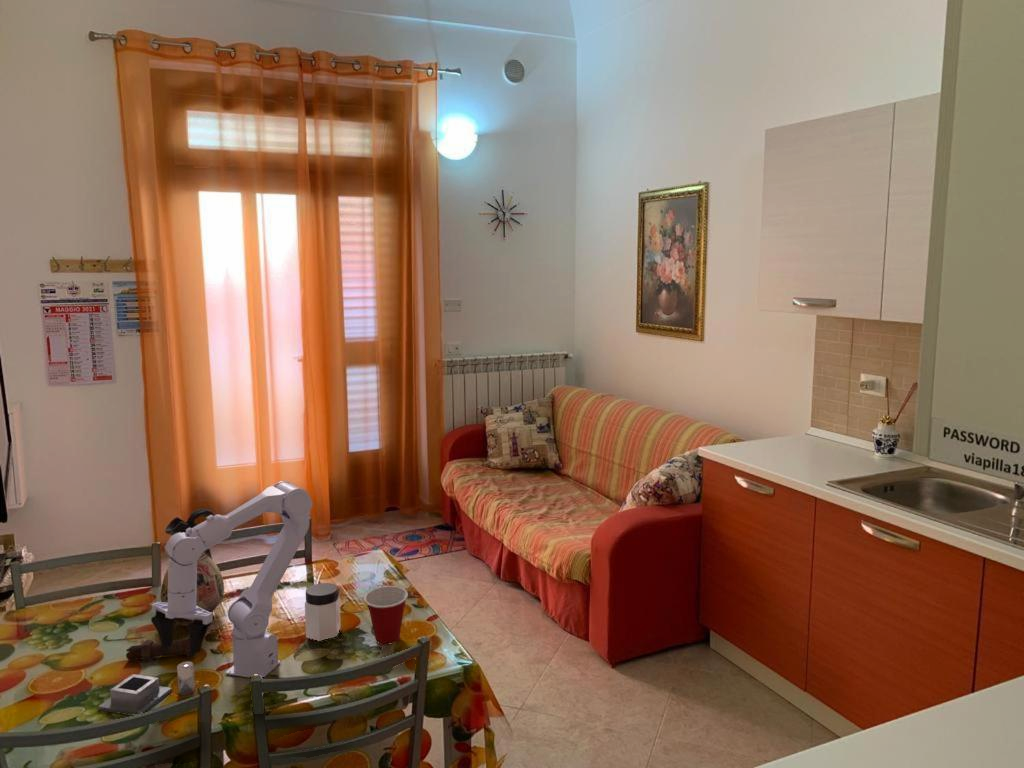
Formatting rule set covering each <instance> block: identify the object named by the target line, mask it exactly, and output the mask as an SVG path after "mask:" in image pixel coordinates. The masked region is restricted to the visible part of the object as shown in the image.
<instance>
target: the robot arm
mask: <svg viewBox="0 0 1024 768" xmlns="http://www.w3.org/2000/svg"><path fill="white" fill-rule="evenodd" d="M313 505H314V504H313V502H312V498H311V497H310V494H309V493H308V491H307V490H305V489H304V488H301V487H298V486H297V485H294V484H292V483H291V482H289V481H286V480H281V481H278V482H276V483H275V484H274V485H271V486H268V487H267V488H264V490H263V491H262V492H261V493H260V494H258V495H256V496H255V497H252V498H251V499H250V500H248V501H246V502H245V503H242V505H240V506H239V507H237V508H235V509H233V510H232V511H231V512H229V513H227V514H225V515H222V514H214V516H213V515H210V516H208V517H205V519H206V520H204V521H203V522H202V521H201V522H200V523H198V525H197V526H195V527H193V528H190V527H189V528H188V529H186V533H184V532H182V533H181V532H180V533H176V534H174V535H172V536H171V535H170V537H169V539H168V540H167V541H166V545H165V546H164V551H165V553H166V555H167V556H169V557H168V567H169V569H168V568H167V569H168V603H165V602H162V601H157V602H154V603H152V604H151V614H154V616H152V617H151V619H150V621H151V623H152V624H153V626H154V627H155V629H156V631H157V633H158V636H159V641H160V643H161V644H162V647H163V648H166V647H168V646H170V645H172V641H174V639H173V637H174V627H175V626H174V625H175V618H185V619H190V620H194V623H191V624H189V625H187V626H186V630H187V632H188V634H189V636H190V651H191V654H192V655H195V654H196V655H197V654H198V653H200V652H201V649H202V645H203V642H204V639H205V636H206V634H207V632H208V630H209V628H210V627H211V625H212V623H213V622H214V621H213V617H214V616H213V615H214V612H213V613H211V612H208V611H206V610H204V609H202V608H200V607H198V606H196V594H197V560H198V559H199V557H200V556H201V554H202V552H204V551H205V550H207V549H211V548H212V547H214V546H216V545H217V544H219V543H221V542H223V541H225V540H226V539H228V538H230V537H231V535H232V532H233V530H234V529H235V528H237V527H239V526H241V525H243V524H245V523H247V522H248V521H251V520H253V519H255V518H257V517H258V516H260V515H263V514H265V513H273V514H279V515H280V517H281V521H282V523H283V526H282V529H281V531H280V532H279V534H278V536H277V538H276V540H275V541H274V543H273V545H272V546H271V548H270V551H269V552H268V554H267V556H266V558H265V560H264V561H263V562H262V565H261V566H260V568H259V571H258V573H257V574H256V576H255V578H254V579H253V582H252V584H251V586H250V587H248V588H246V589H245V590H243V591H241V593H240V595H239V597H238V598H237V599H235V601H233V602H232V603H231V604H230V606H229V608H228V609H227V617H228V620H229V622H230V623H232V624H233V627H232V631H231V635H232V637H231V638H232V639H231V640H232V657H233V665H232V666H231V667H230V668H229V669H228V670H226V671H225V674H226V675H230V676H238V677H244V678H250V676H252V675H254V674H258V675H261V676H262V677H264V678H265V677H266V676H267V675H268V674H269V673H271V672H272V671H273V670H274V669H275V668H276V667H278V665H280V664H281V660H279V651H278V650H279V646H278V638H277V636H276V635H275V634H274V633H271V632H269V631H267V628H268V626H269V621H270V620H269V619H270V616H271V613H272V611H273V600H272V598H273V596H274V594H275V592H276V590H277V588H278V587H279V585H280V583H281V581H282V579H283V578H284V576H285V573H286V572H287V569H289V566H290V565H291V562H292V560H293V559H294V556H295V554H296V552H298V549H299V547H300V545H301V543H302V541H303V539H304V538H305V536H306V534H307V533H308V530H309V528H310V520H311V519H310V517H311V509H312V508H313ZM196 655H195V656H196ZM250 679H251V678H250Z"/></svg>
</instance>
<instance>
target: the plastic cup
mask: <svg viewBox="0 0 1024 768" xmlns="http://www.w3.org/2000/svg"><path fill="white" fill-rule="evenodd" d="M408 597H409V594H408V590H406V589H405V588H404V587H400V586H397V585H385V586H379V587H376V588H373V589H371V590H369V591H368V592H366V594H365V595H364V597H363V599H364V603H365V604H366V605H367V608H368V611H369V615H370V619H371V624H372V630H373V633H374V638H375V641H377V643H378V642H379V643H381V644H380V645H384V644H387V645H390V644H389V643H393V642H395V641H397V640H398V639H399V640H400V636H401V635H400V634H401V629H402V625H403V618H404V611H405V607H406V602H407V598H408ZM399 640H398V641H399ZM398 641H397V642H398ZM379 643H378V644H379ZM395 643H396V642H395ZM393 644H394V643H393Z"/></svg>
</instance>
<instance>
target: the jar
mask: <svg viewBox="0 0 1024 768" xmlns="http://www.w3.org/2000/svg"><path fill="white" fill-rule="evenodd" d="M339 594H340V591H339V586H338V585H336V584H334V583H329V582H321V583H316V584H315V583H314V584H312V585H310V586H308V587H307V588H306V589H305V603H304V617H305V638H306V639H309V638H310V640H312V639H313V640H312V641H315V640H317V641H316V642H319V641H321V640H324V639H328V638H332V637H335V636H337V635H338V636H339V634H340V632H339V630H340V631H341V629H340V628H341V602H340V601H341V598H340V596H341V595H339ZM338 633H339V634H338ZM338 636H337V637H338ZM321 642H322V641H321Z"/></svg>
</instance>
